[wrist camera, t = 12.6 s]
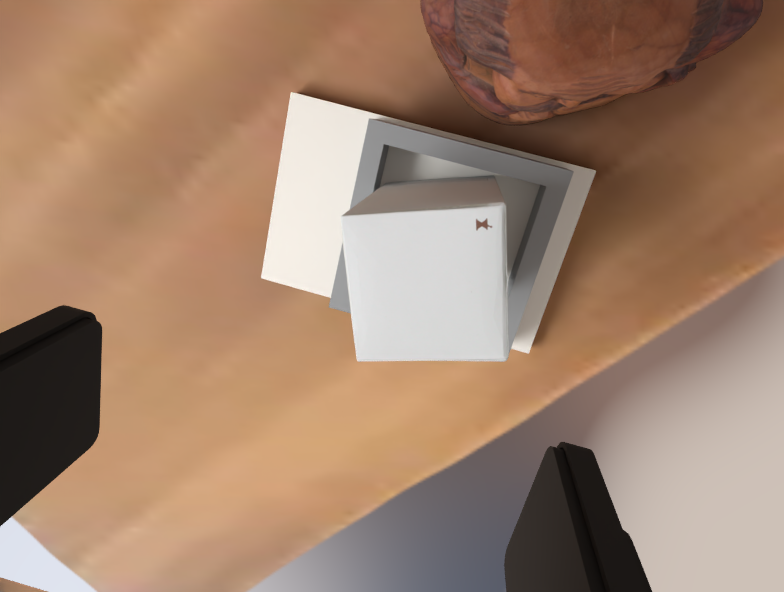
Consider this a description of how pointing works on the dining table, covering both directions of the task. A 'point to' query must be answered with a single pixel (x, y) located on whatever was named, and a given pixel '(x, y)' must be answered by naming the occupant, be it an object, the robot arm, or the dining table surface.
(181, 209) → the dining table surface
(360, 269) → the supplement box
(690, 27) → the wooden figurine
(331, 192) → the caddy
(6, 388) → the robot arm
